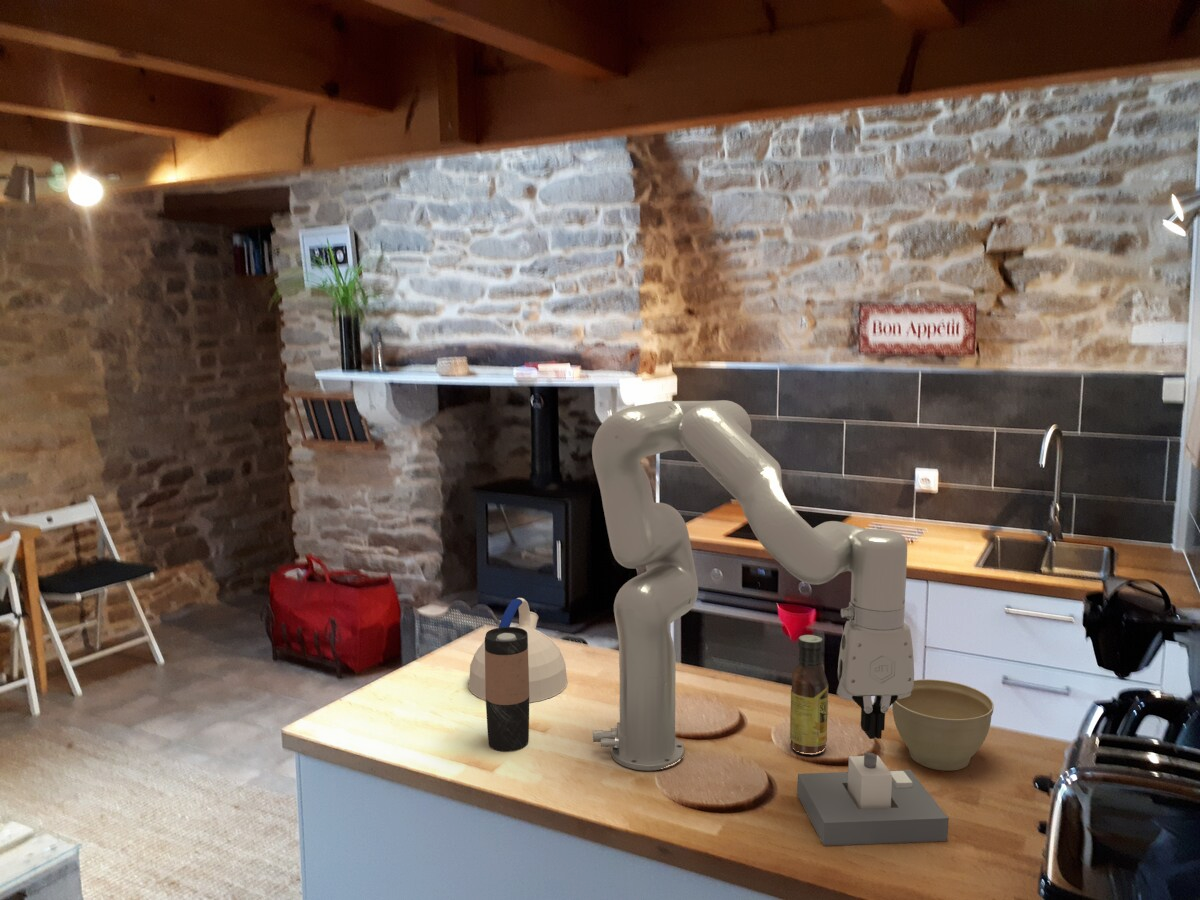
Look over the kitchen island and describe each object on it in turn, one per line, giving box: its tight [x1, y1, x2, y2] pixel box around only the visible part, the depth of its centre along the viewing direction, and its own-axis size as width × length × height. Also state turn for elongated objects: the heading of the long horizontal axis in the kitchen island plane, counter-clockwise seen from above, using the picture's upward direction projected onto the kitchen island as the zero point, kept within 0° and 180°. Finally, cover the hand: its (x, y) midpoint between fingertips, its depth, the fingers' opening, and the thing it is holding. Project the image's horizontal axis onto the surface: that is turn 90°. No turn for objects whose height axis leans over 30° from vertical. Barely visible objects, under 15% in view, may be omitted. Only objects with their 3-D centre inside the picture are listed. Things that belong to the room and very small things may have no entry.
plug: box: [847, 752, 892, 809], centre depth 138 cm, size 4×6×9 cm
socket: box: [796, 769, 950, 847], centre depth 138 cm, size 18×14×4 cm
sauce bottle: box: [789, 634, 829, 753], centre depth 158 cm, size 6×6×20 cm
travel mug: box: [484, 626, 530, 753], centre depth 161 cm, size 8×8×20 cm
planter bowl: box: [891, 678, 995, 772], centre depth 155 cm, size 16×16×11 cm
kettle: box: [468, 597, 569, 704], centre depth 187 cm, size 20×21×18 cm
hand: (872, 734), depth 136 cm, fingers closed
